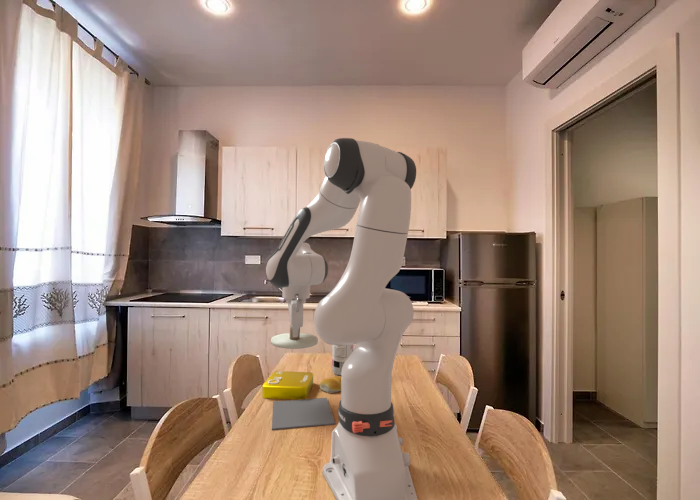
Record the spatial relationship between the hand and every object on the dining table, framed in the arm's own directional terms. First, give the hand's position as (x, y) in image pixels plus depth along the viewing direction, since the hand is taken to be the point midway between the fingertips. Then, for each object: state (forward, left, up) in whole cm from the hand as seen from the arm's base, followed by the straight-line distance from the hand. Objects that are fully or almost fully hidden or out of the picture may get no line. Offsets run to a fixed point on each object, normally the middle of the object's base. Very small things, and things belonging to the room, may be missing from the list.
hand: (294, 334), depth 112 cm
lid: (0, 0, -2) cm, 2 cm away
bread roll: (+6, -14, -21) cm, 26 cm away
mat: (-10, -2, -21) cm, 23 cm away
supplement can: (+22, -20, -21) cm, 36 cm away
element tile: (+8, +2, -21) cm, 23 cm away
